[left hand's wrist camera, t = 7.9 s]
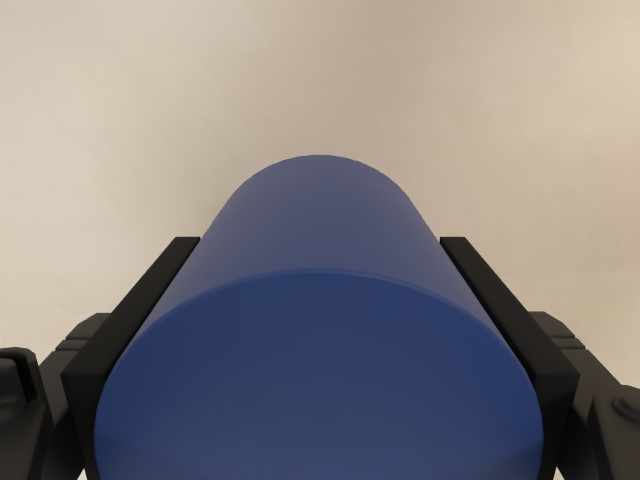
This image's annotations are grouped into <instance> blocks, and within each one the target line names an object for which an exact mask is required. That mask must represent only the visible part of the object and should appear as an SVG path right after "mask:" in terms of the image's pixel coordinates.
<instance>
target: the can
mask: <svg viewBox="0 0 640 480" xmlns="http://www.w3.org/2000/svg"><path fill="white" fill-rule="evenodd" d="M543 443H544V439H543V426H542V415H541V411H540V408H539V404H538V400H537V396H536V393H535V391H534V388H533V386H532V384H531V382H530V380H529V377H528V375H527V373H526V371H525V369H524V368H523V366H522V365H521V363H520V362H519V360H518V359H517V358H516V356H515V355H514V353H513V352H512V350H511V349H510V347H509V346H508V344H507V343H506V341H505V340H504V338H503V337H502V335H501V334H500V332H499V331H498V329H497V328H496V326H495V325H494V323H493V322H492V320H491V319H490V317H489V316H488V315H487V313H486V312H485V310H484V309H483V307H482V306H481V304H480V303H479V301H478V300H477V298H476V297H475V295H474V294H473V292H472V291H471V289H470V288H469V286H468V285H467V283H466V282H465V280H464V279H463V277H462V276H461V274H460V273H459V272H458V270H457V269H456V267H455V266H454V264H453V263H452V261H451V260H450V258H449V257H448V255H447V254H446V252H445V251H444V249H443V248H442V246H441V245H440V243H439V242H438V240H437V239H436V237H435V236H434V234H433V233H432V231H431V230H430V229H429V227H428V226H427V224H426V223H425V221H424V220H423V218H422V217H421V215H420V214H419V212H418V211H417V209H416V208H415V206H414V205H413V203H412V202H411V200H410V199H409V197H408V196H407V195H406V194H405V193H404V192H403V191H402V189H401V188H400V187H399V186H398V185H397V184H395V183H394V182H393V181H392V180H391V179H389V178H388V177H387V176H385V175H384V174H382V173H381V172H379V171H377V170H376V169H374V168H372V167H370V166H368V165H365V164H363V163H361V162H358V161H354V160H351V159H348V158H343V157H337V156H331V155H310V156H300V157H295V158H291V159H287V160H283V161H281V162H278V163H276V164H273V165H271V166H269V167H267V168H265V169H263V170H261V171H259V172H258V173H256V174H255V175H253V176H252V177H251V178H249V179H248V180H247V181H245V182H244V183H243V184H242V185H241V186H240V187H239V188H238V189H237V190H236V191H235V192H234V193H233V195H232V196H231V197H230V199H229V200H228V201H227V203H226V204H225V205H224V207H223V208H222V210H221V211H220V213H219V214H218V216H217V217H216V218H215V220H214V221H213V223H212V224H211V226H210V227H209V229H208V230H207V232H206V233H205V234H204V236H203V237H202V239H201V240H200V242H199V243H198V245H197V246H196V248H195V249H194V250H193V252H192V253H191V255H190V256H189V258H188V259H187V261H186V262H185V264H184V265H183V266H182V268H181V269H180V271H179V272H178V274H177V275H176V277H175V278H174V280H173V281H172V282H171V284H170V285H169V287H168V288H167V290H166V291H165V293H164V294H163V296H162V297H161V299H160V300H159V301H158V303H157V304H156V306H155V307H154V309H153V310H152V312H151V313H150V315H149V316H148V317H147V319H146V320H145V322H144V323H143V325H142V326H141V328H140V329H139V331H138V332H137V333H136V335H135V336H134V338H133V339H132V341H131V342H130V344H129V345H128V347H127V348H126V349H125V351H124V352H123V354H122V355H121V357H120V358H119V360H118V361H117V363H116V364H115V366H114V368H113V370H112V372H111V374H110V376H109V378H108V379H107V381H106V383H105V385H104V388H103V391H102V394H101V397H100V400H99V403H98V406H97V412H96V419H95V426H94V454H95V460H96V465H97V470H98V474H99V478H100V480H537V478H538V474H539V471H540V467H541V463H542V453H543Z"/></svg>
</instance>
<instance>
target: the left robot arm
mask: <svg viewBox="0 0 640 480" xmlns="http://www.w3.org/2000/svg"><path fill="white" fill-rule="evenodd" d="M199 242H200V237H175V238H174V239H173V241H172V242H171V243H170V244H169V245H168V247H167V248H166V249H165V250H164V251H163V252H162V254H161V255H160V256H159V257H158V258H157V260H156V261H155V262H154V263H153V264H152V265H151V267H150V268H149V269H148V270H147V271H146V273H145V274H144V275H143V276H142V277H141V278H140V280H139V281H138V282H137V283H136V284H135V286H134V287H133V288H132V289H131V290H130V291H129V293H128V294H127V295H126V296H125V297H124V299H123V300H122V301H121V302H120V303H119V304H118V306H117V307H116V308H115V309H114V310H113V312H112V313H96V314H94V315H93V316H91V317H89V318H88V319H86V320H84V321H83V322H81V323H79V324H78V325H77V326H76V327H75V328H74V329H73V330H72V331H71V332H70V333H69V334H68V335H67V337H66V340H63V341H62V342H61V343H60V344H59V345H58V346H57V347H56V348H55V351H52V352H51V354H50V355H49V356H48V357H47V358H46V359H45V360H44V361H43V362H42V363H41V364H40V365H39V366H38V363H37V359H36V356H35V353H33V352H32V351H30V350H29V349H26V348H19V347H11V348H1V349H0V480H77V479H78V477H79V476H80V474H81V472H82V471H83V469H85V473H86V477H87V480H100V478H99V474H98V470H97V465H96V460H95V454H94V426H95V419H96V412H97V406H98V403H99V400H100V397H101V394H102V391H103V388H104V385H105V383H106V381H107V379H108V378H109V376H110V374H111V372H112V370H113V368H114V366H115V364H116V363H117V361H118V360H119V358H120V357H121V355H122V354H123V352H124V351H125V349H126V348H127V347H128V345H129V344H130V342H131V341H132V339H133V338H134V336H135V335H136V333H137V332H138V331H139V329H140V328H141V326H142V325H143V323H144V322H145V320H146V319H147V317H148V316H149V315H150V313H151V312H152V310H153V309H154V307H155V306H156V304H157V303H158V301H159V300H160V299H161V297H162V296H163V294H164V293H165V291H166V290H167V288H168V287H169V285H170V284H171V282H172V281H173V280H174V278H175V277H176V275H177V274H178V272H179V271H180V269H181V268H182V266H183V265H184V264H185V262H186V261H187V259H188V258H189V256H190V255H191V253H192V252H193V250H194V249H195V248H196V246H197V245H198V243H199ZM440 245H441V246H442V248H443V249H444V251H445V252H446V254H447V255H448V257H449V258H450V260H451V261H452V263H453V264H454V266H455V267H456V269H457V270H458V272H459V273H460V274H461V276H462V277H463V279H464V280H465V282H466V283H467V285H468V286H469V288H470V289H471V291H472V292H473V294H474V295H475V297H476V298H477V300H478V301H479V303H480V304H481V306H482V307H483V309H484V310H485V312H486V313H487V315H488V316H489V317H490V319H491V320H492V322H493V323H494V325H495V326H496V328H497V329H498V331H499V332H500V334H501V335H502V337H503V338H504V340H505V341H506V343H507V344H508V346H509V347H510V349H511V350H512V352H513V353H514V355H515V356H516V358H517V359H518V360H519V362H520V363H521V365H522V366H523V368H524V369H525V371H526V373H527V375H528V377H529V380H530V382H531V384H532V386H533V388H534V391H535V393H536V396H537V400H538V404H539V408H540V411H541V415H542V426H543V439H544V443H543V453H542V463H541V467H540V471H539V474H538V478H537V480H553V478H554V474H555V470H556V466H557V468H558V469H559V471H560V473H561V474H562V476H563V478H564V480H640V389H638V388H635V387H632V386H628V385H621V384H620V383H619V382H618V381H617V380H616V379H615V378H614V377H613V375H612V374H611V373H610V372H609V371H608V370H607V369H606V368H605V367H604V366H603V365H602V364H601V363H600V362H599V361H598V360H597V359H596V357H595V356H594V355H593V354H592V353H591V352H590V351H589V350H586V349H585V346H584V345H583V344H582V343H581V342H580V341H579V340H578V338H575V335H574V334H573V333H572V332H571V331H570V330H569V329H568V328H567V327H566V326H565V325H564V324H563V323H562V322H561V321H559V320H557V319H555V318H554V317H552V316H550V315H549V314H547V313H545V312H528V311H527V310H526V309H525V308H524V306H523V305H522V304H521V303H520V302H519V301H518V299H517V298H516V297H515V296H514V295H513V293H512V292H511V291H510V290H509V289H508V288H507V286H506V285H505V284H504V283H503V282H502V280H501V279H500V278H499V277H498V276H497V275H496V273H495V272H494V271H493V270H492V269H491V267H490V266H489V265H488V264H487V263H486V262H485V260H484V259H483V258H482V257H481V256H480V254H479V253H478V252H477V251H476V250H475V249H474V247H473V246H472V245H471V244H470V243H469V241H468V240H467V239H466V238H465V237H440Z"/></svg>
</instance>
